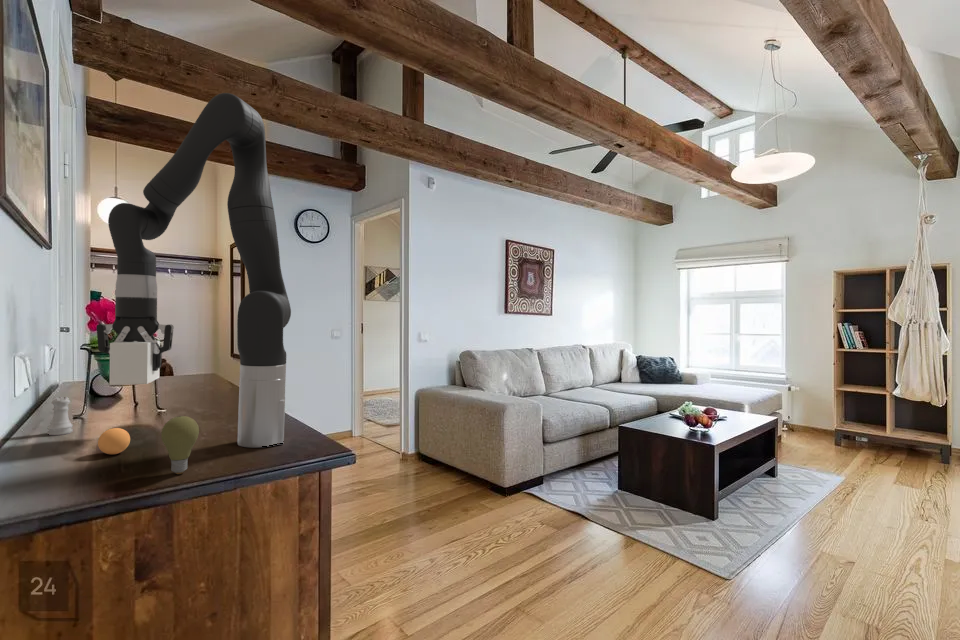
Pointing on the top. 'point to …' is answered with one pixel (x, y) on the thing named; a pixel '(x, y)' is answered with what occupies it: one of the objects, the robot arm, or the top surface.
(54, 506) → the top surface
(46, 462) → the top surface
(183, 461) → the light bulb
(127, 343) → the light gray block
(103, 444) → the orange egg
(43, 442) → the top surface
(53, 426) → the rook chess piece
